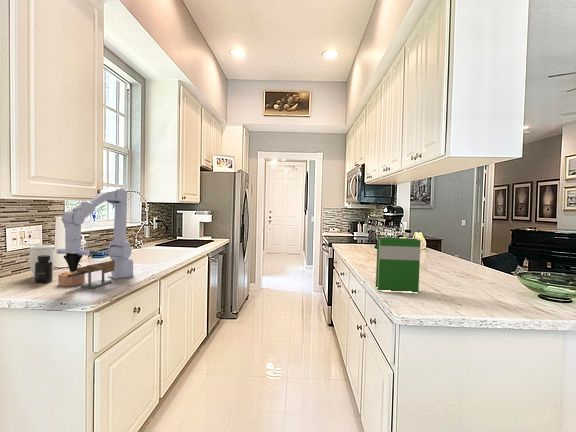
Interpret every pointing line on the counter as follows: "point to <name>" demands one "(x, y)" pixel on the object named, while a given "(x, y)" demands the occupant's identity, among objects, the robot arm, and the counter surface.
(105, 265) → the brown tray
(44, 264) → the supplement bottle
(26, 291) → the counter surface
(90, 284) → the trough stand
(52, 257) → the white tapered cylinder
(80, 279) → the cup
